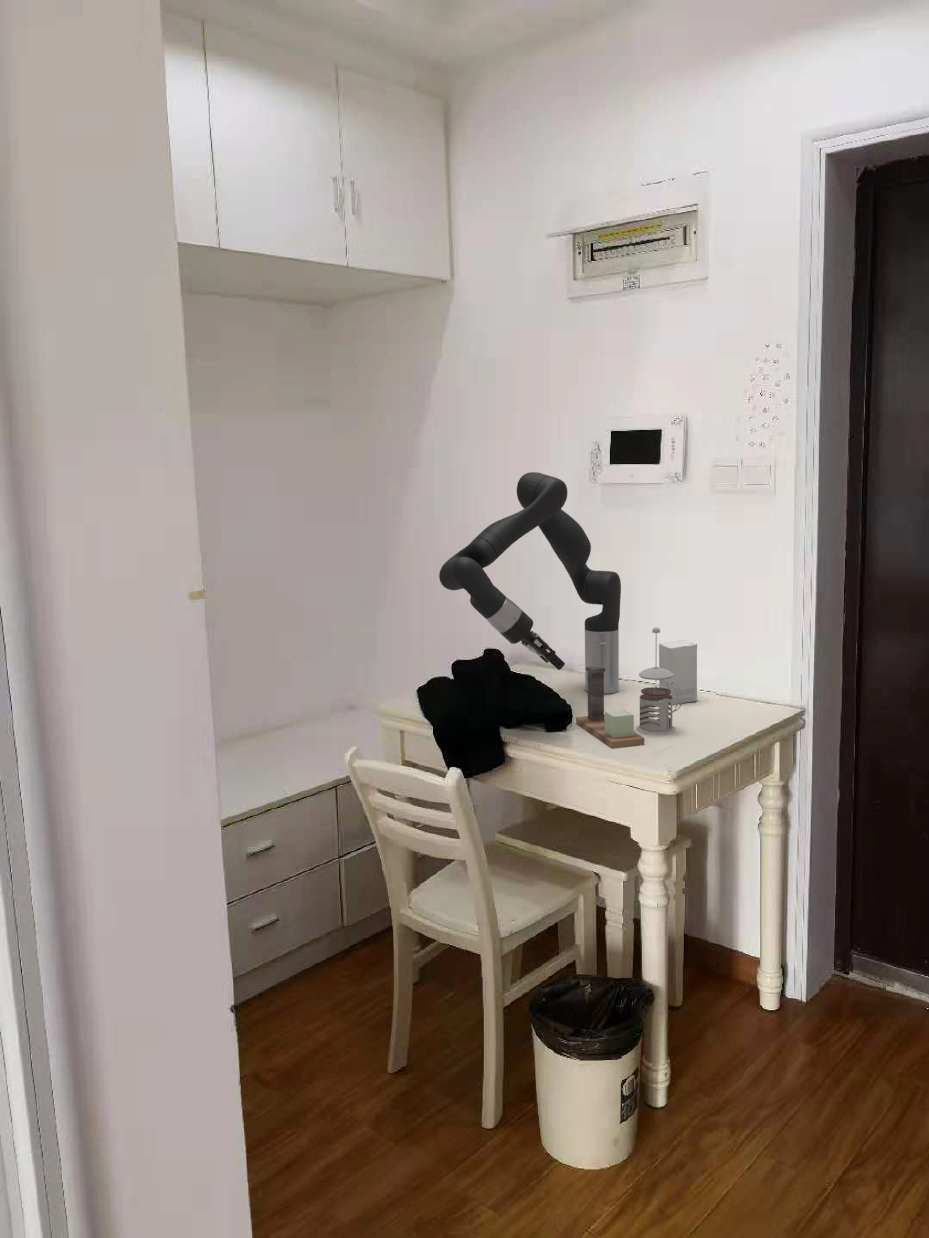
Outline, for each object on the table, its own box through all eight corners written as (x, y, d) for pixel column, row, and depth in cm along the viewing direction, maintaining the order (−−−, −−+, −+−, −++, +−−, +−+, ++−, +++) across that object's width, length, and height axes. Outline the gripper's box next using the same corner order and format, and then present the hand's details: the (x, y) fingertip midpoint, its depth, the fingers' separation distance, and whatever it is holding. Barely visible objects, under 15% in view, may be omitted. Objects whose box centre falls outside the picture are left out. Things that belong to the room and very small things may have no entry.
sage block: (604, 732, 243) (604, 711, 243) (624, 730, 245) (624, 709, 244) (613, 738, 239) (613, 716, 238) (633, 735, 240) (633, 714, 239)
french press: (650, 722, 257) (650, 622, 252) (691, 730, 249) (692, 627, 244) (626, 731, 250) (626, 628, 246) (668, 739, 242) (668, 633, 238)
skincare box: (685, 696, 280) (685, 639, 278) (698, 702, 274) (699, 643, 272) (657, 699, 278) (657, 642, 275) (670, 705, 272) (670, 646, 269)
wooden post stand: (576, 723, 257) (575, 666, 255) (606, 720, 259) (605, 663, 257) (611, 748, 236) (611, 686, 234) (644, 744, 238) (644, 683, 236)
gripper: (529, 612, 238) (577, 657, 243) (510, 603, 252) (555, 646, 257) (507, 637, 238) (555, 681, 243) (489, 626, 252) (535, 668, 256)
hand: (555, 663), depth 250 cm, fingers open, 8 cm apart
